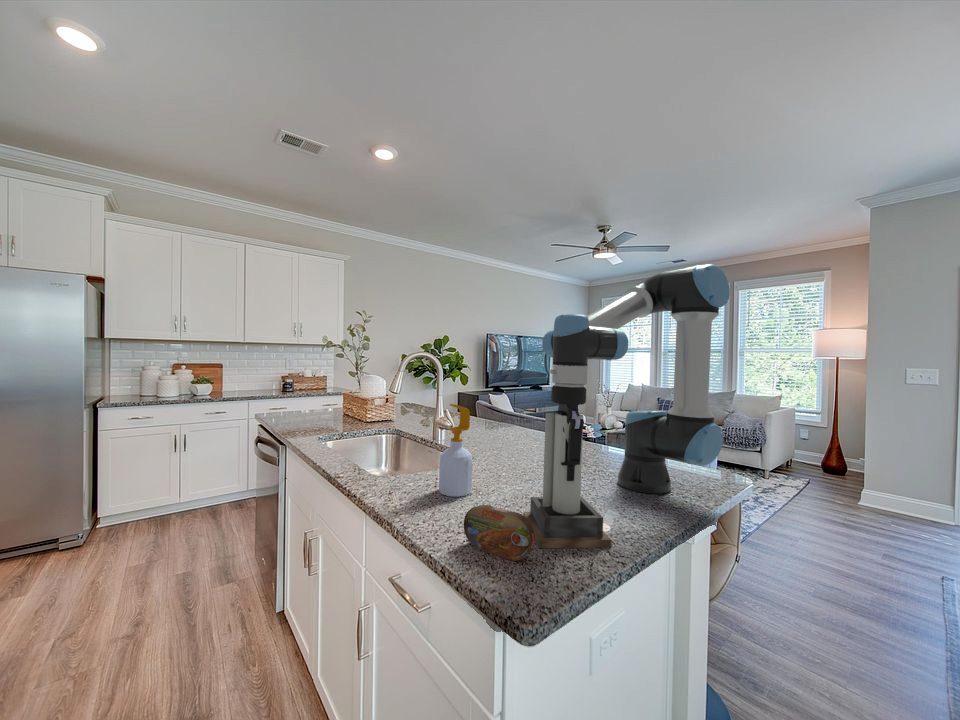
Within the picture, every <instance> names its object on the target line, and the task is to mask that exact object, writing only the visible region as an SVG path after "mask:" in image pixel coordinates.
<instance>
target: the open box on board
mask: <svg viewBox="0 0 960 720" xmlns="http://www.w3.org/2000/svg"><path fill="white" fill-rule="evenodd" d="M542 505H543V496H530V510H529V511H523V516H525V517H526V518H527V519H528V520H529V522H530V523H531V525H532V527H533V529H534V535H535V543H536V545H537V547H538V549H574V548H578V549H579V548H581V549H582V548H583V549H584V548H585V549H587V548H612V539H611V537H609V535H608V534H606V532H605V531H604V516H602V515H601V514H600V513H599V512H598V510H596V509H595V508H594V507H593V506H592V505H591V504H590V503H589V502H588V501H587V500H586V499H585V498H584V497H583V496H580V512H579V513H577V514H570V515H568V514H562V513H558V512H556V511H554V510H553V509H552V506H548V507H542Z"/></svg>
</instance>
